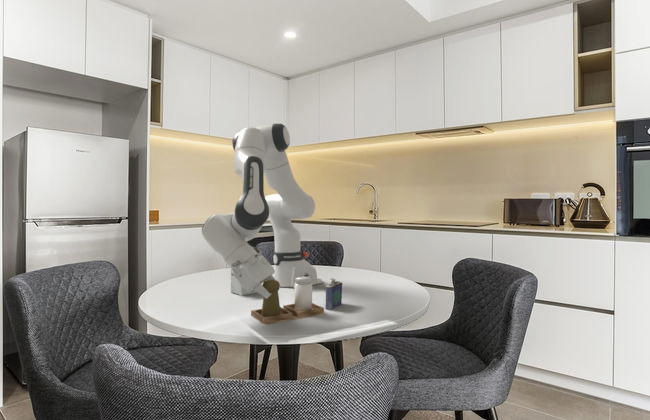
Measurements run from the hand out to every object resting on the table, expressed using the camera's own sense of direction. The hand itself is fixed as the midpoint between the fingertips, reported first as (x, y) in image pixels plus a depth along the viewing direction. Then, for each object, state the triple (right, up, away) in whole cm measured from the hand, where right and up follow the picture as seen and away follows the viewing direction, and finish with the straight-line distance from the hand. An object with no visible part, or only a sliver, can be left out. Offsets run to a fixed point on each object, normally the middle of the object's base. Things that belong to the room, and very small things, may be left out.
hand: (273, 292), depth 120 cm
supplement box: (-17, -8, +37) cm, 41 cm away
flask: (+18, -9, +13) cm, 24 cm away
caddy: (+4, -9, +3) cm, 10 cm away
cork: (-1, -8, +1) cm, 8 cm away
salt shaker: (+9, -7, +6) cm, 13 cm away
